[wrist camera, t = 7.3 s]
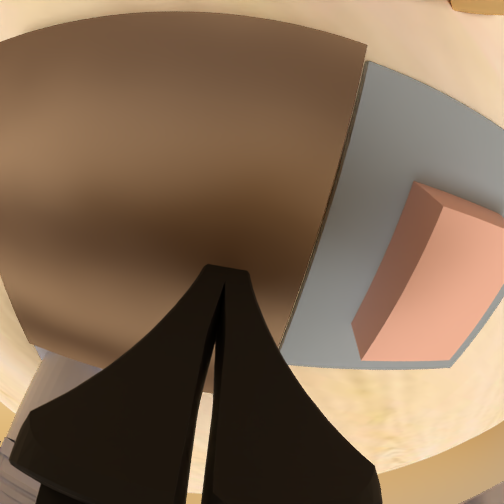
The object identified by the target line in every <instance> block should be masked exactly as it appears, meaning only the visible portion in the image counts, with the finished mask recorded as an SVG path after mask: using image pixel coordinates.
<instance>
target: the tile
mask: <svg viewBox="0 0 504 504" xmlns="http://www.w3.org/2000/svg"><path fill="white" fill-rule="evenodd" d="M503 284H504V218H503V217H502V216H501V215H500V214H498V213H496V212H494V211H492V210H489V209H487V208H485V207H482V206H480V205H477V204H475V203H472V202H470V201H468V200H465V199H462V198H460V197H457V196H455V195H452V194H449V193H447V192H444V191H441V190H439V189H436V188H433V187H430V186H427V185H424V184H421V183H418V182H415V181H413V184H412V187H411V190H410V192H409V195H408V198H407V201H406V203H405V206H404V209H403V211H402V214H401V216H400V219H399V221H398V224H397V226H396V229H395V231H394V234H393V236H392V238H391V241H390V243H389V246H388V248H387V250H386V252H385V255H384V257H383V259H382V261H381V264H380V266H379V268H378V270H377V272H376V275H375V277H374V279H373V281H372V283H371V285H370V287H369V289H368V291H367V293H366V295H365V297H364V299H363V301H362V303H361V305H360V307H359V309H358V311H357V313H356V315H355V317H354V319H353V321H352V323H351V325H352V329H353V333H354V336H355V340H356V344H357V347H358V351H359V355H360V359H361V361H443V360H450V359H451V357H452V356H453V355H454V354H455V353H456V351H457V350H458V349H459V348H460V346H461V345H462V344H463V343H464V341H465V340H466V339H467V337H468V336H469V335H470V333H471V332H472V331H473V329H474V328H475V327H476V325H477V324H478V322H479V321H480V320H481V318H482V317H483V315H484V314H485V312H486V311H487V309H488V308H489V306H490V305H491V303H492V302H493V300H494V299H495V297H496V295H497V294H498V292H499V291H500V289H501V287H502V286H503Z"/></svg>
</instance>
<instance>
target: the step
mask: <svg viewBox="0 0 504 504" xmlns="http://www.w3.org/2000/svg"><path fill="white" fill-rule="evenodd" d="M366 48H367V45H366V44H363V43H360V42H357V41H354V40H351V39H348V38H345V37H341V36H338V35H335V34H331V33H328V32H324V31H320V30H316V29H312V28H308V27H304V26H300V25H295V24H290V23H285V22H280V21H275V20H269V19H263V18H256V17H249V16H241V15H232V14H221V13H206V12H144V13H130V14H119V15H111V16H103V17H96V18H90V19H84V20H78V21H73V22H68V23H63V24H59V25H55V26H51V27H47V28H43V29H39V30H36V31H32V32H29V33H25V34H22V35H19V36H16V37H13V38H10V39H7V40H4V41H2V42H0V275H1V278H2V281H3V283H4V286H5V289H6V291H7V294H8V296H9V299H10V301H11V304H12V306H13V309H14V311H15V313H16V316H17V318H18V320H19V322H20V324H21V327H22V329H23V331H24V333H25V335H26V337H27V339H28V341H29V343H30V344H33V345H35V346H38V347H40V348H43V349H45V350H48V351H51V352H53V353H56V354H59V355H62V356H64V357H67V358H70V359H73V360H76V361H79V362H82V363H85V364H88V365H91V366H95V367H98V368H101V369H104V368H106V367H107V366H109V365H110V364H111V363H113V362H114V361H115V360H117V359H118V358H119V357H120V356H122V355H123V354H124V353H125V352H127V351H128V350H129V349H130V348H132V347H133V346H134V345H135V344H136V343H137V342H139V341H140V340H141V339H142V338H143V337H144V336H145V335H146V334H148V333H149V332H150V331H151V330H152V329H153V328H154V327H155V326H156V325H157V324H158V323H159V322H160V321H161V320H162V319H163V318H164V317H165V315H166V314H167V313H168V312H169V311H170V310H171V309H172V308H173V307H174V306H175V305H176V303H177V302H178V301H179V300H180V299H181V297H182V296H183V295H184V294H185V293H186V291H187V290H188V289H189V288H190V286H191V285H192V284H193V282H194V281H195V280H196V278H197V277H198V275H199V274H200V272H201V270H202V269H203V267H204V266H205V265H207V264H211V265H217V266H223V267H229V268H235V269H241V270H247V271H248V272H249V274H250V278H251V282H252V286H253V290H254V293H255V296H256V299H257V302H258V305H259V307H260V310H261V312H262V315H263V317H264V320H265V322H266V324H267V327H268V329H269V331H270V333H271V335H272V337H273V339H274V341H275V343H276V345H277V347H278V346H279V344H280V341H281V338H282V336H283V333H284V330H285V327H286V325H287V322H288V319H289V316H290V314H291V311H292V308H293V305H294V303H295V300H296V297H297V294H298V291H299V288H300V285H301V282H302V280H303V277H304V274H305V271H306V268H307V265H308V262H309V259H310V256H311V253H312V249H313V246H314V243H315V240H316V237H317V234H318V231H319V228H320V224H321V221H322V218H323V215H324V211H325V208H326V205H327V201H328V198H329V195H330V191H331V188H332V184H333V181H334V177H335V174H336V170H337V167H338V163H339V160H340V156H341V152H342V149H343V145H344V141H345V137H346V134H347V130H348V126H349V122H350V118H351V114H352V110H353V106H354V102H355V98H356V93H357V89H358V85H359V80H360V76H361V71H362V67H363V62H364V58H365V53H366ZM214 361H215V345H214V349H213V353H212V357H211V361H210V365H209V368H208V372H207V376H206V380H205V384H204V388H203V392H207V393H213V388H214Z"/></svg>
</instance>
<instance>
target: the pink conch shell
mask: <svg viewBox="0 0 504 504" xmlns="http://www.w3.org/2000/svg"><path fill="white" fill-rule="evenodd" d="M450 2H451V5H452V8H453V10H455V11H461V12H467V13H475V14H485V15H504V0H450Z"/></svg>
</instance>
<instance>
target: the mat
mask: <svg viewBox="0 0 504 504" xmlns="http://www.w3.org/2000/svg"><path fill="white" fill-rule="evenodd" d="M413 181H415V182H418V183H421V184H424V185H427V186H430V187H433V188H436V189H439V190H441V191H444V192H447V193H449V194H452V195H455V196H457V197H460V198H462V199H465V200H468V201H470V202H472V203H475V204H477V205H480V206H482V207H485V208H487V209H489V210H492V211H494V212H496V213H498V214H500V215H501V216H502V217H503V218H504V130H503V129H502V128H500V127H499V126H497V125H496V124H494V123H493V122H491V121H490V120H488V119H487V118H485V117H484V116H482V115H481V114H479V113H477V112H476V111H474V110H472V109H471V108H469V107H467V106H466V105H464V104H462V103H460V102H459V101H457V100H455V99H453V98H451V97H449V96H448V95H446V94H444V93H442V92H440V91H438V90H436V89H434V88H432V87H430V86H428V85H426V84H424V83H421V82H419V81H417V80H415V79H413V78H410V77H408V76H406V75H404V74H401V73H399V72H396V71H394V70H391V69H389V68H386V67H384V66H381V65H378V64H376V63H373V62H370V61H366V62H365V66H364V71H363V76H362V80H361V84H360V89H359V93H358V97H357V101H356V105H355V109H354V113H353V117H352V121H351V125H350V129H349V133H348V137H347V141H346V144H345V148H344V152H343V155H342V159H341V163H340V166H339V170H338V173H337V177H336V180H335V184H334V187H333V191H332V194H331V197H330V201H329V204H328V207H327V210H326V214H325V217H324V220H323V223H322V227H321V230H320V233H319V236H318V239H317V242H316V245H315V248H314V251H313V254H312V257H311V260H310V263H309V266H308V269H307V272H306V275H305V278H304V281H303V284H302V287H301V290H300V293H299V295H298V298H297V301H296V304H295V307H294V309H293V312H292V315H291V318H290V320H289V323H288V326H287V328H286V331H285V334H284V336H283V339H282V342H281V344H280V347H279V351H280V353H281V354H282V356H283V358H284V360H285V361H286V363H287V365H294V366H307V367H321V368H339V369H368V370H407V369H436V368H450V367H451V366H452V365H453V364H454V363H455V362H456V360H457V359H458V358H459V357H460V356H461V354H462V353H463V352H464V351H465V350H466V348H467V347H468V346H469V345H470V343H471V342H472V341H473V340H474V338H475V337H476V336H477V334H478V333H479V332H480V330H481V329H482V328H483V326H484V325H485V323H486V322H487V321H488V319H489V318H490V316H491V315H492V313H493V312H494V311H495V309H496V308H497V306H498V305H499V303H500V302H501V300H502V298H503V297H504V284H503V286H502V287H501V289H500V291H499V292H498V294H497V295H496V297H495V299H494V300H493V302H492V303H491V305H490V306H489V308H488V309H487V311H486V312H485V314H484V315H483V317H482V318H481V320H480V321H479V322H478V324H477V325H476V327H475V328H474V329H473V331H472V332H471V333H470V335H469V336H468V337H467V339H466V340H465V341H464V343H463V344H462V345H461V346H460V348H459V349H458V350H457V351H456V353H455V354H454V355H453V356H452V357H451V359H450V360H443V361H361V359H360V355H359V351H358V347H357V344H356V340H355V336H354V333H353V329H352V325H351V323H352V321H353V319H354V317H355V315H356V313H357V311H358V309H359V307H360V305H361V303H362V301H363V299H364V297H365V295H366V293H367V291H368V289H369V287H370V285H371V283H372V281H373V279H374V277H375V275H376V272H377V270H378V268H379V266H380V264H381V261H382V259H383V257H384V255H385V252H386V250H387V248H388V246H389V243H390V241H391V238H392V236H393V234H394V231H395V229H396V226H397V224H398V221H399V219H400V216H401V214H402V211H403V209H404V206H405V203H406V201H407V198H408V195H409V192H410V190H411V187H412V184H413Z"/></svg>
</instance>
